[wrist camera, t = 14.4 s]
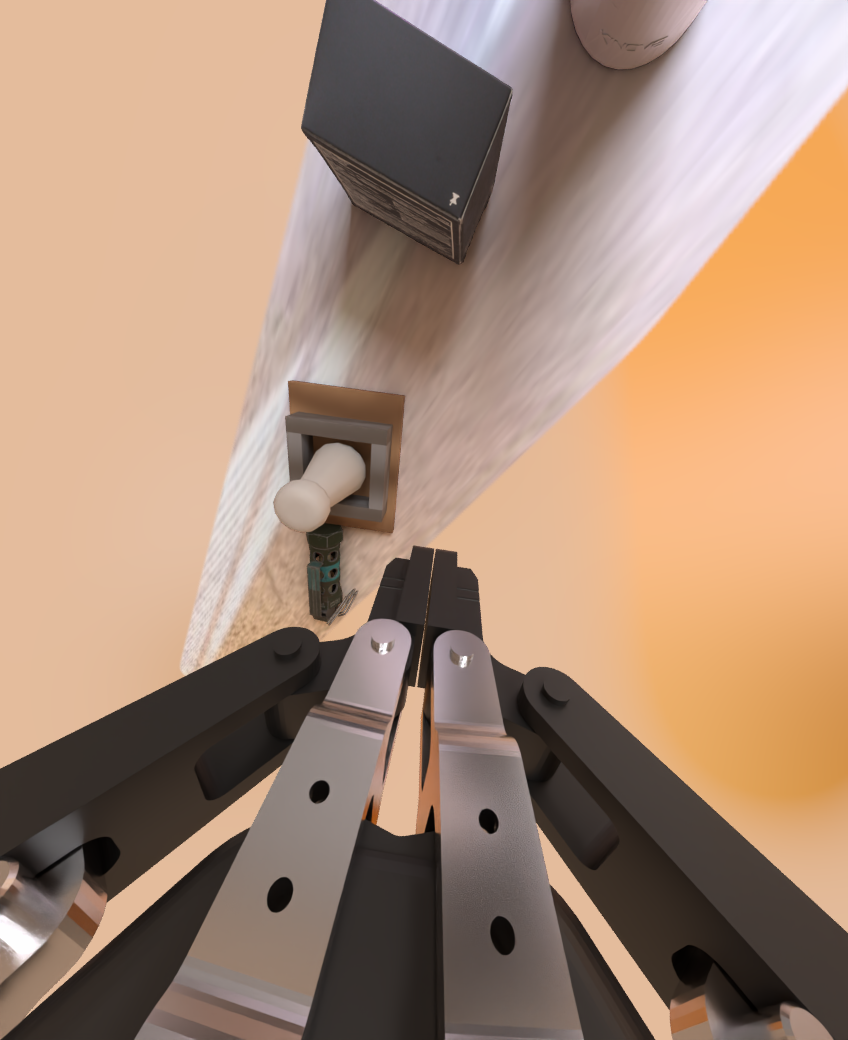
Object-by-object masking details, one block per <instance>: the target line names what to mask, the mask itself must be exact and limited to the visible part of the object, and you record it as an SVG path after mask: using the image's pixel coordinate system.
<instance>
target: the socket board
mask: <svg viewBox="0 0 848 1040" xmlns="http://www.w3.org/2000/svg"><path fill="white" fill-rule="evenodd" d="M288 388H289V402H290V415H288V416H285V420H286V433H287V447H288V460H289V474H290V481H292V480H300V479H301V478H302V476H303V474H304V472H305V471H306V469H307V467H308V465H309V463H310V462H311V460H312V458H313V456H314V454H315V453H316V451H317V450H319V449H320V448H321V447H322V446H324V445H325V444H330V443H338V442H339V443H342V444H346V445H349V446H351V447H353V448H354V449H355V450H356V451H357V452H358V453H359V454H360V455H361V457H362V459H363V461H364V463H365V468H366V477H365V480H364V481H363V483H362V485H361V487H360V489H358V490H357V491H355V492H354V493H352V494H351V495H349V496H347V497H346V498H344V499H343V500H341V501H340V502H338V503H337V504H335V505H334V506H332V507H330V513H329V515H328V517H327V519H326V521H325V523H328V524H335V525H342V526H348V527H355V528H362V529H369V530H375V531H382V532H389V533H393V530H394V520H395V509H396V497H397V485H398V473H399V461H400V450H401V438H402V426H403V414H404V402H405V396H403V395H396V394H389V393H381V392H374V391H367V390H359V389H352V388H345V387H337V386H330V385H322V384H315V383H308V382H300V381H293V380H292V381H288Z"/></svg>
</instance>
